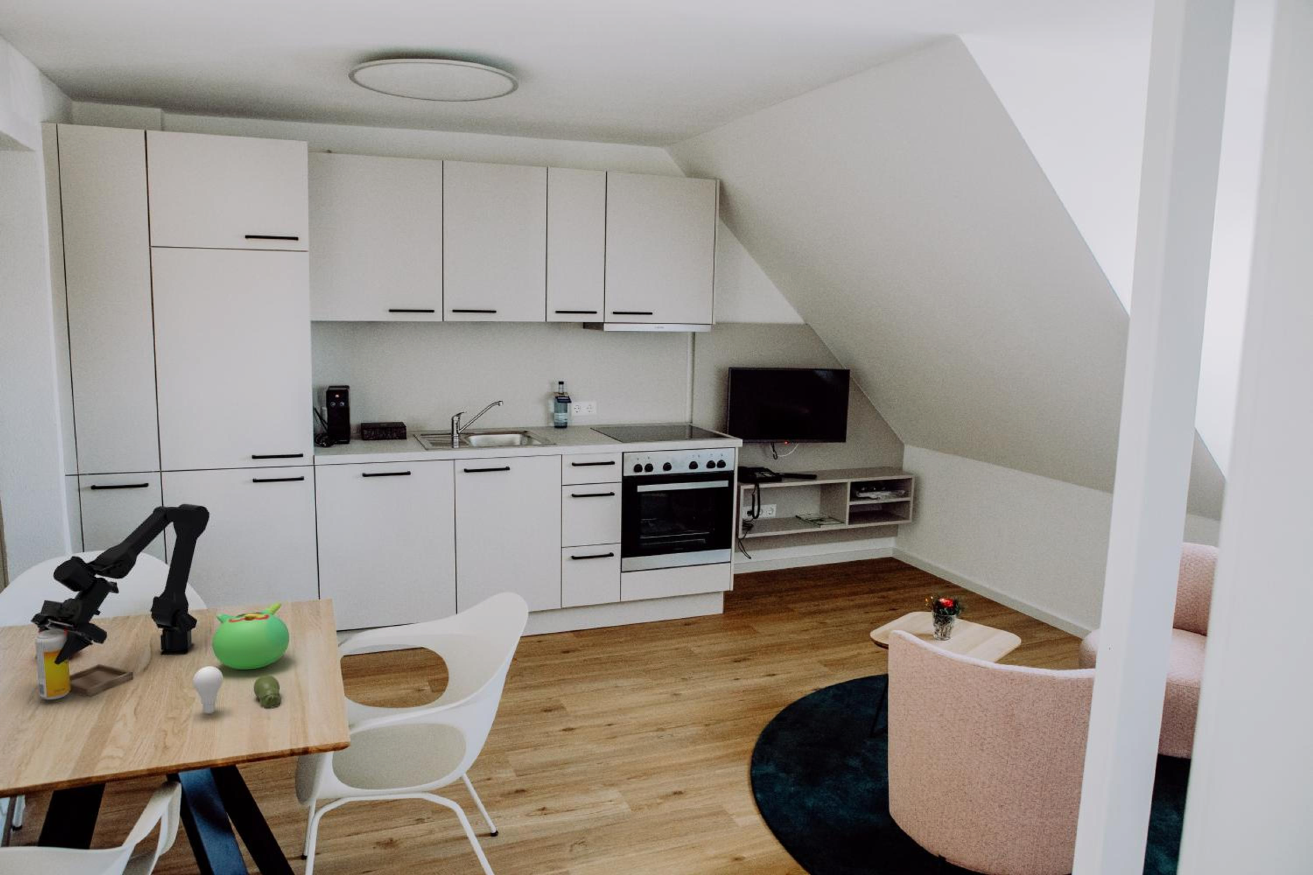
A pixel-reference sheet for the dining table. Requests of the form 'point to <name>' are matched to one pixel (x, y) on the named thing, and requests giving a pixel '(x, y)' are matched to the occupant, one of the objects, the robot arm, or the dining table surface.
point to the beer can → (52, 664)
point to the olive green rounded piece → (267, 691)
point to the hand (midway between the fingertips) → (46, 661)
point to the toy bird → (250, 639)
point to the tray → (97, 680)
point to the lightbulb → (208, 686)
